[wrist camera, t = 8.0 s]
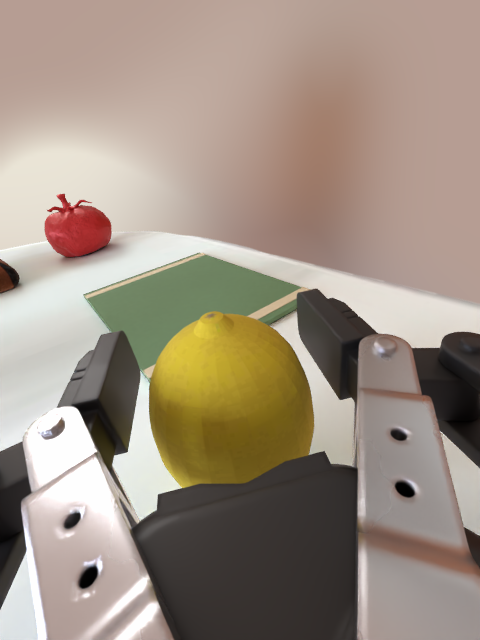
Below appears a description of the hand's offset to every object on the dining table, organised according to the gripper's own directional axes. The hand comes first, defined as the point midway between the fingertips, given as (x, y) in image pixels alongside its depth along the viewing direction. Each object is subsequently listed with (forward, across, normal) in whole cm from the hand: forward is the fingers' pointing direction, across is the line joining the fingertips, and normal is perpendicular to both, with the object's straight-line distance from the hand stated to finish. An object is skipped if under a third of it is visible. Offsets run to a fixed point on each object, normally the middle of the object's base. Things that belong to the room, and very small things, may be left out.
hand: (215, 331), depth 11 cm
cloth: (+17, +2, +6) cm, 18 cm away
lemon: (-2, 0, +6) cm, 7 cm away
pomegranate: (+45, +19, +6) cm, 49 cm away
